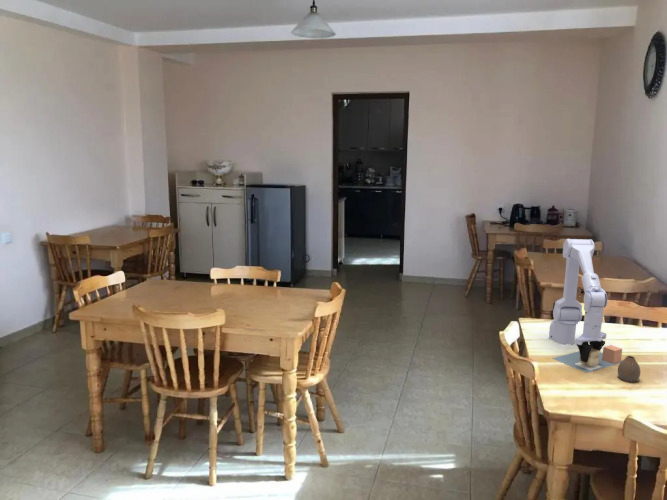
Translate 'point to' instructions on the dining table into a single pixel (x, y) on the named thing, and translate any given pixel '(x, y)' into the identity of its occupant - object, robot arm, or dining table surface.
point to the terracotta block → (612, 354)
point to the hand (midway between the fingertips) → (588, 360)
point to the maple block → (592, 357)
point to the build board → (574, 362)
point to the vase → (629, 370)
